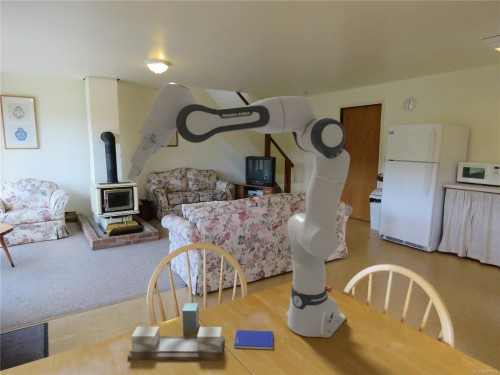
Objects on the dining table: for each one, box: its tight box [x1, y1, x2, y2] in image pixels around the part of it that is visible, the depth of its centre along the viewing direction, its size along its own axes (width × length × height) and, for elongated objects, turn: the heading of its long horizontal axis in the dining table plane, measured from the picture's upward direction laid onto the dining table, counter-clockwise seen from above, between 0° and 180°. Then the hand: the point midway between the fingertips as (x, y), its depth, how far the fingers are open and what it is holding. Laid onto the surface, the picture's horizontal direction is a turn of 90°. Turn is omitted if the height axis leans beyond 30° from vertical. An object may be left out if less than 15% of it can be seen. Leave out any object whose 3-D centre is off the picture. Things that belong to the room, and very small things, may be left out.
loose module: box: [182, 302, 200, 333], centre depth 109 cm, size 4×5×8 cm
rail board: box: [127, 326, 225, 361], centre depth 98 cm, size 28×10×6 cm, turn 90°
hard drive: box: [233, 329, 274, 350], centre depth 103 cm, size 2×8×12 cm
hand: (133, 177), depth 92 cm, fingers open, 8 cm apart
